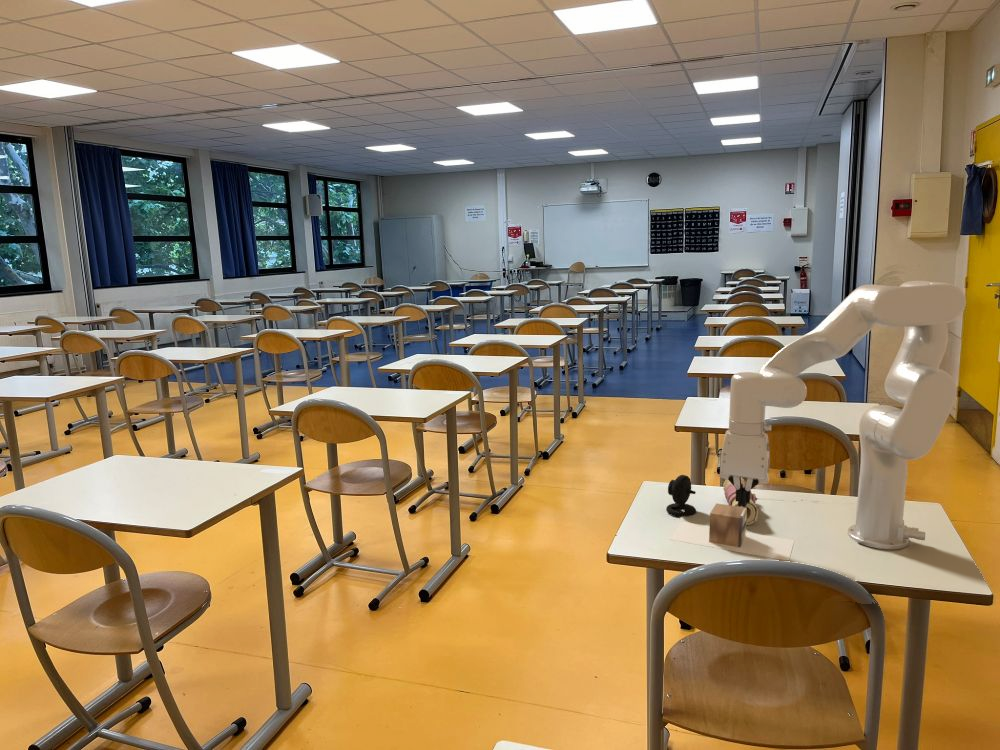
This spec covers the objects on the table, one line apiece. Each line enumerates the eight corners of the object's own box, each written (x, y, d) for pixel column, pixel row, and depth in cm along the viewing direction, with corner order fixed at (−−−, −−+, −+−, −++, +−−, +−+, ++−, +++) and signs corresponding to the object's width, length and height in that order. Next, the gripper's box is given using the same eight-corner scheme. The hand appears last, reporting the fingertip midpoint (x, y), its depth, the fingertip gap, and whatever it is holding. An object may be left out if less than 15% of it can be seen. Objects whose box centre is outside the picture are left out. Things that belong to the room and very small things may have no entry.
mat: (794, 541, 164) (794, 540, 164) (788, 562, 153) (788, 560, 153) (682, 522, 176) (682, 521, 176) (669, 540, 165) (669, 539, 165)
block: (746, 508, 165) (716, 503, 168) (741, 518, 159) (710, 513, 162) (745, 536, 166) (715, 531, 170) (740, 547, 160) (709, 541, 163)
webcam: (674, 504, 188) (675, 468, 186) (701, 511, 183) (702, 474, 181) (660, 513, 182) (661, 476, 180) (687, 520, 177) (688, 482, 176)
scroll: (767, 523, 171) (757, 495, 190) (755, 496, 170) (745, 470, 189) (737, 534, 173) (730, 504, 192) (724, 507, 172) (718, 480, 192)
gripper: (783, 427, 158) (779, 504, 162) (715, 420, 165) (712, 495, 169) (779, 435, 152) (775, 516, 155) (708, 428, 159) (705, 505, 162)
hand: (742, 504), depth 162 cm, fingers closed
